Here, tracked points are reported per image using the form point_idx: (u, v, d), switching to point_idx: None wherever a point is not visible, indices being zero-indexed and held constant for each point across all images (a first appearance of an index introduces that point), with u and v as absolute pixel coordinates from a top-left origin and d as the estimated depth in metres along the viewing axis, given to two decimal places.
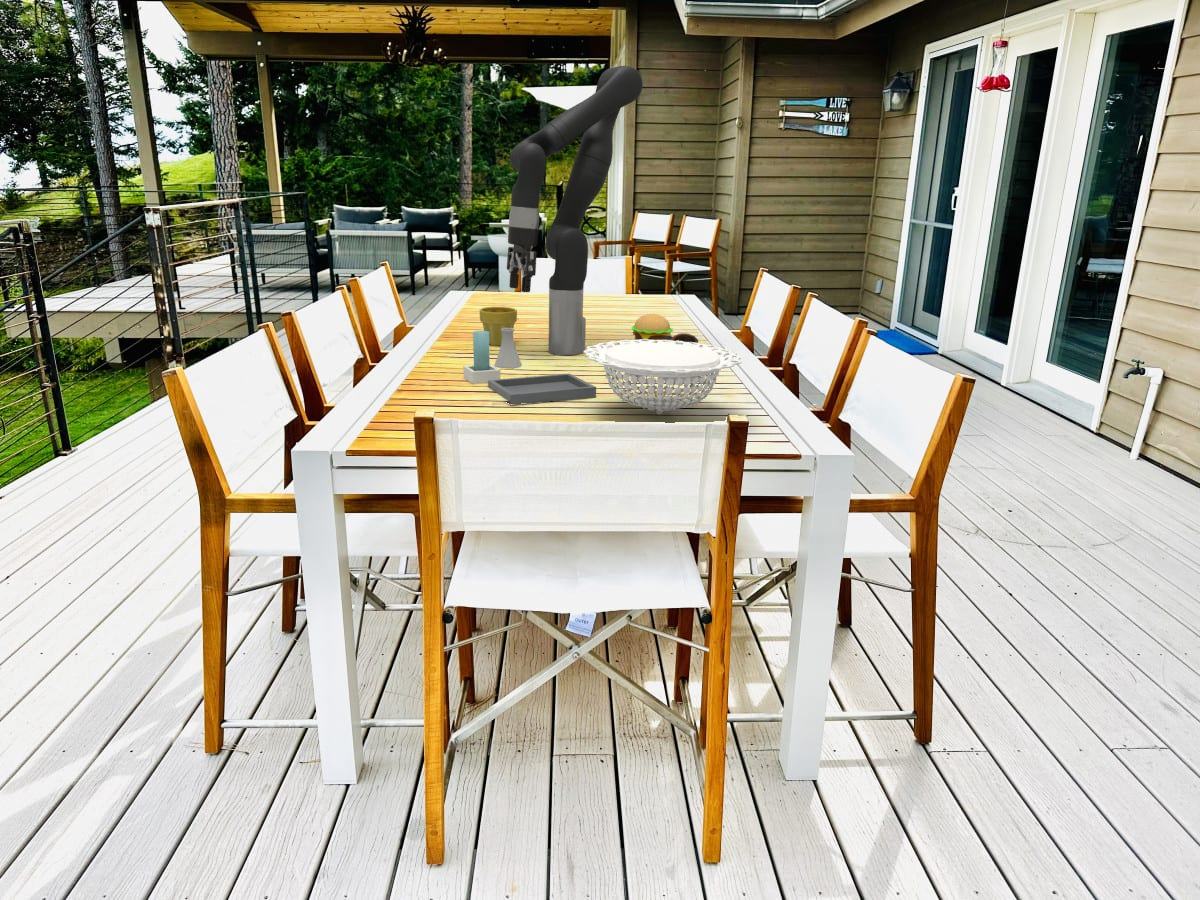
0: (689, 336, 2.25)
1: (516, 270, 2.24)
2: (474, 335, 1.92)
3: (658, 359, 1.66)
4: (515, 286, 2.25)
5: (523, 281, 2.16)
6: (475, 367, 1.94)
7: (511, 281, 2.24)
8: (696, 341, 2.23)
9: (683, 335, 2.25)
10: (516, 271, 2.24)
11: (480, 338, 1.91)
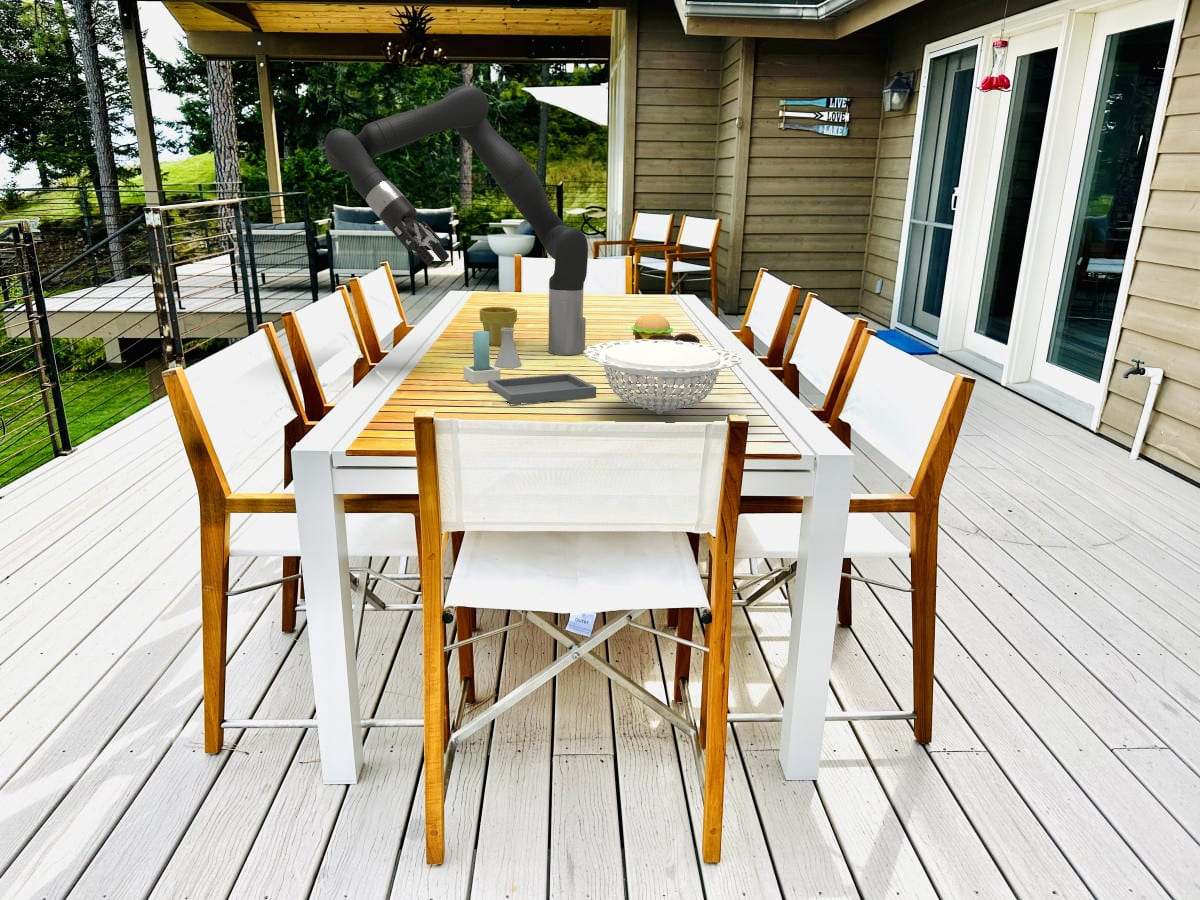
0: (690, 336, 2.25)
1: (434, 242, 1.98)
2: (474, 335, 1.92)
3: (658, 359, 1.66)
4: (445, 256, 1.98)
5: None
6: (475, 367, 1.94)
7: (438, 256, 1.99)
8: (697, 341, 2.23)
9: (684, 335, 2.25)
10: (434, 243, 1.98)
11: (480, 338, 1.91)
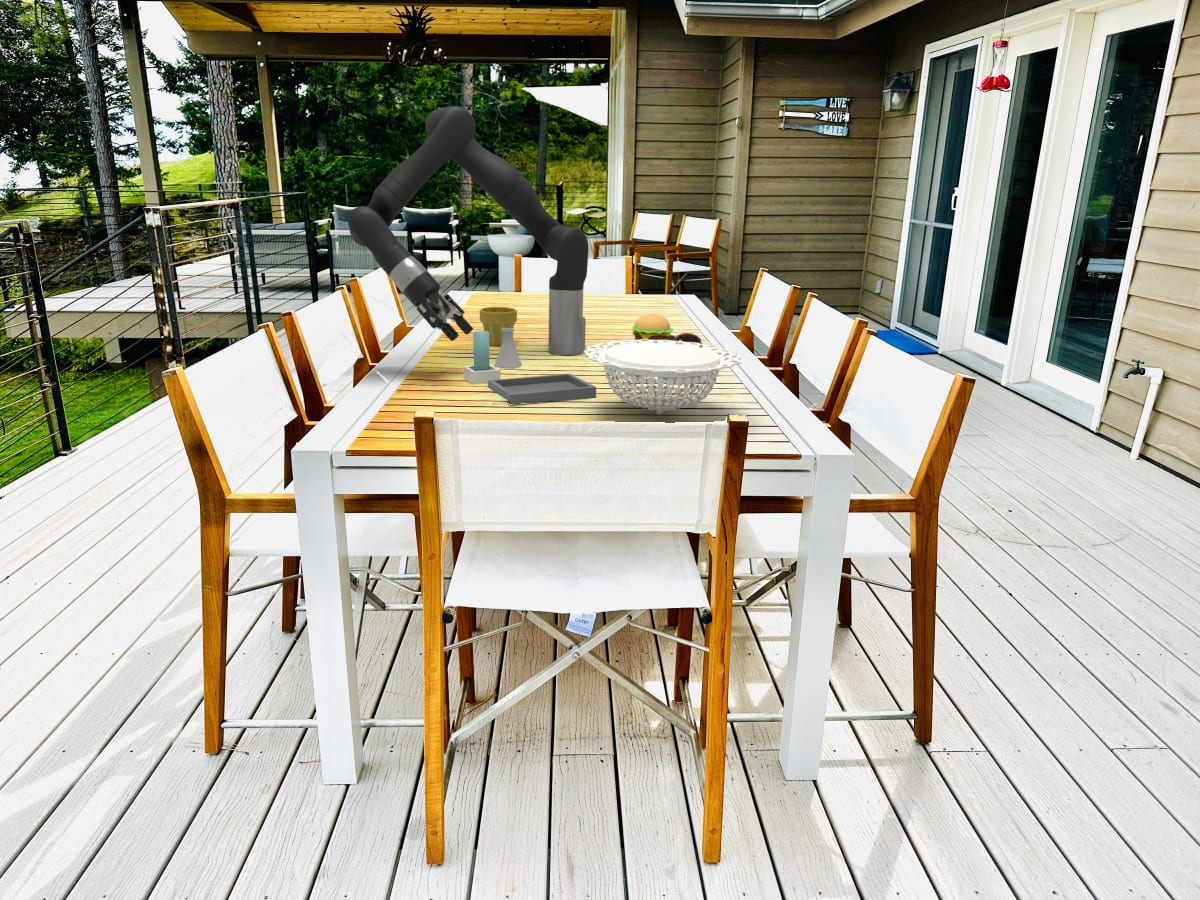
0: (692, 336, 2.25)
1: (457, 316, 1.98)
2: (474, 335, 1.92)
3: (658, 359, 1.66)
4: (469, 329, 1.98)
5: (444, 332, 1.90)
6: (475, 367, 1.94)
7: (462, 329, 1.98)
8: (699, 341, 2.23)
9: (686, 335, 2.26)
10: (458, 316, 1.98)
11: (480, 338, 1.91)
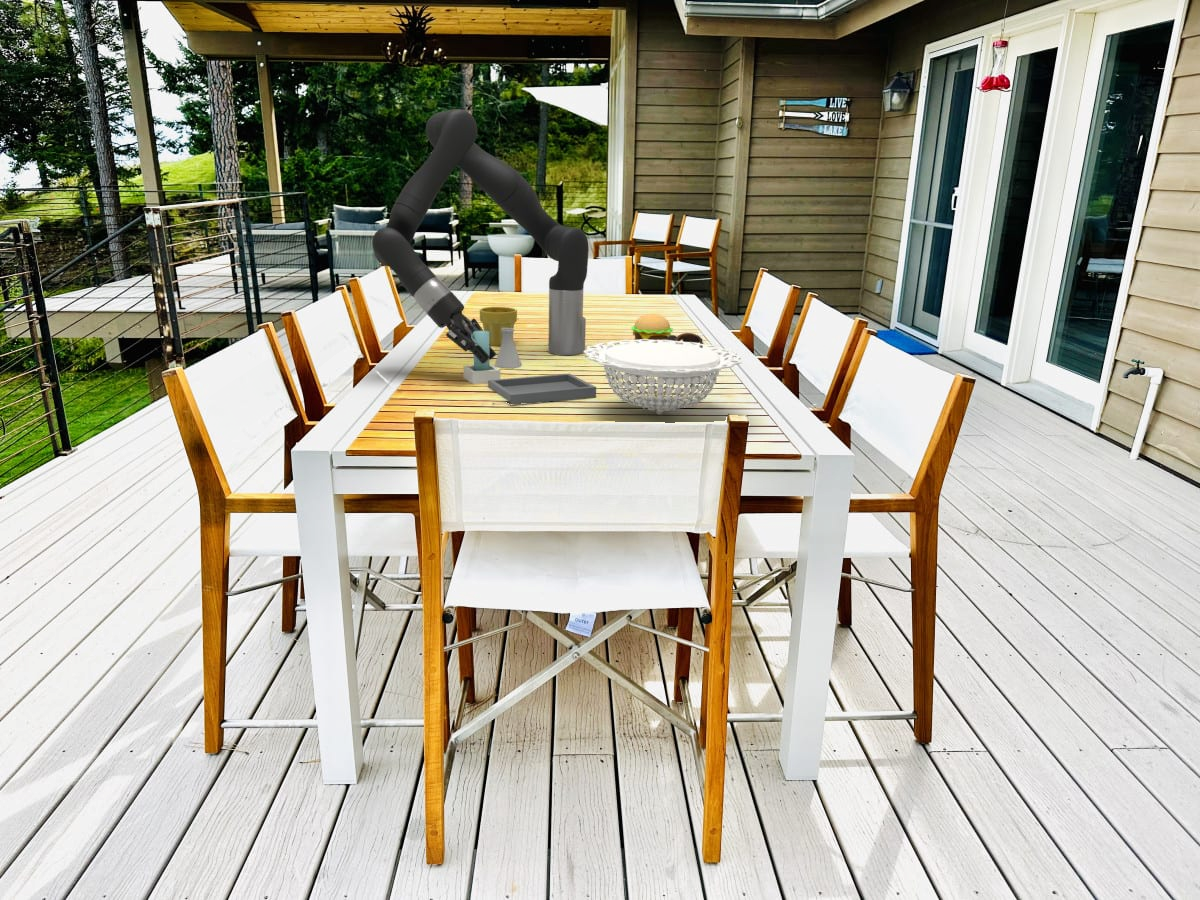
0: (693, 336, 2.26)
1: None
2: (474, 335, 1.92)
3: (658, 359, 1.66)
4: (492, 355, 1.96)
5: None
6: (475, 367, 1.94)
7: None
8: (700, 341, 2.24)
9: (687, 335, 2.26)
10: None
11: (480, 338, 1.91)
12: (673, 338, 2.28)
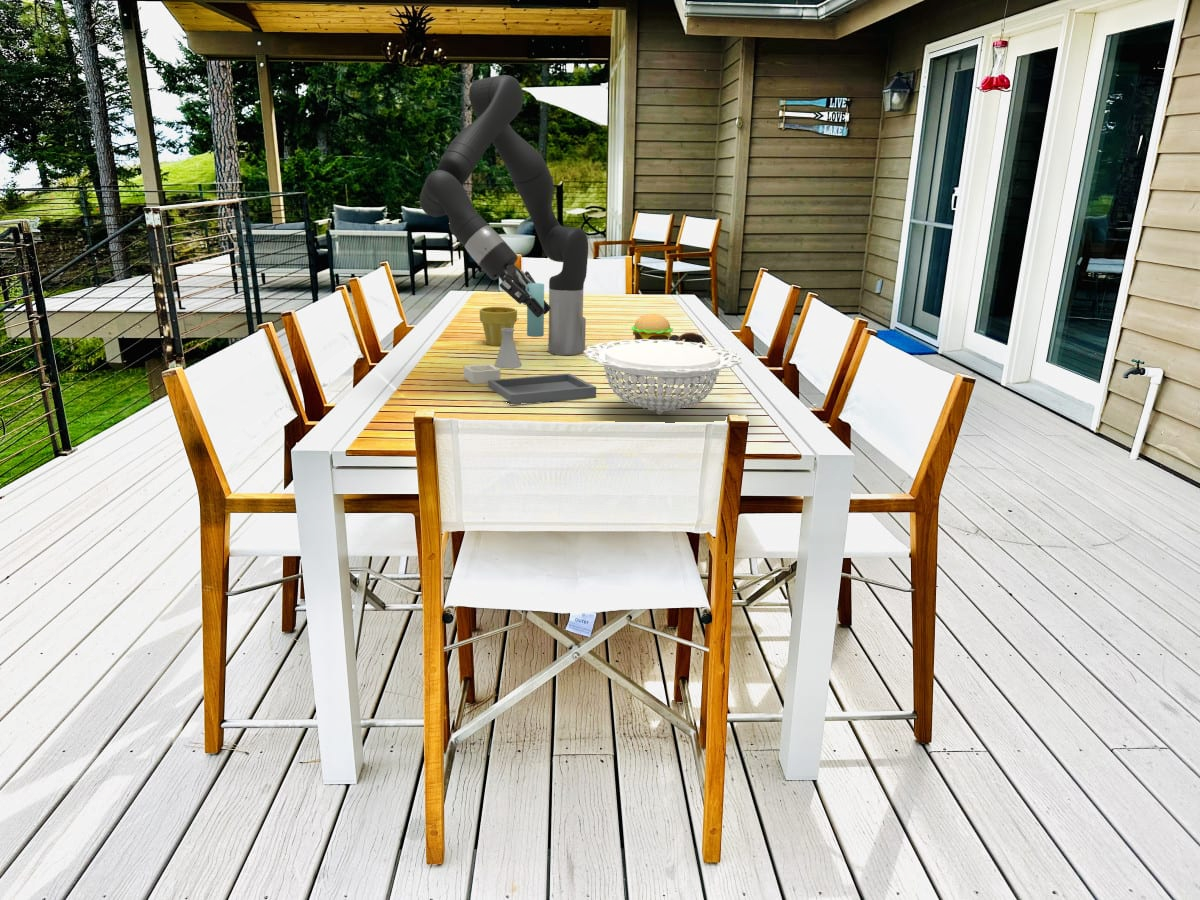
0: (695, 335, 2.26)
1: None
2: (528, 287, 1.81)
3: (658, 359, 1.66)
4: (546, 309, 1.85)
5: (529, 308, 1.81)
6: (528, 321, 1.83)
7: None
8: (703, 340, 2.24)
9: (690, 334, 2.26)
10: None
11: (534, 290, 1.80)
12: (675, 338, 2.28)
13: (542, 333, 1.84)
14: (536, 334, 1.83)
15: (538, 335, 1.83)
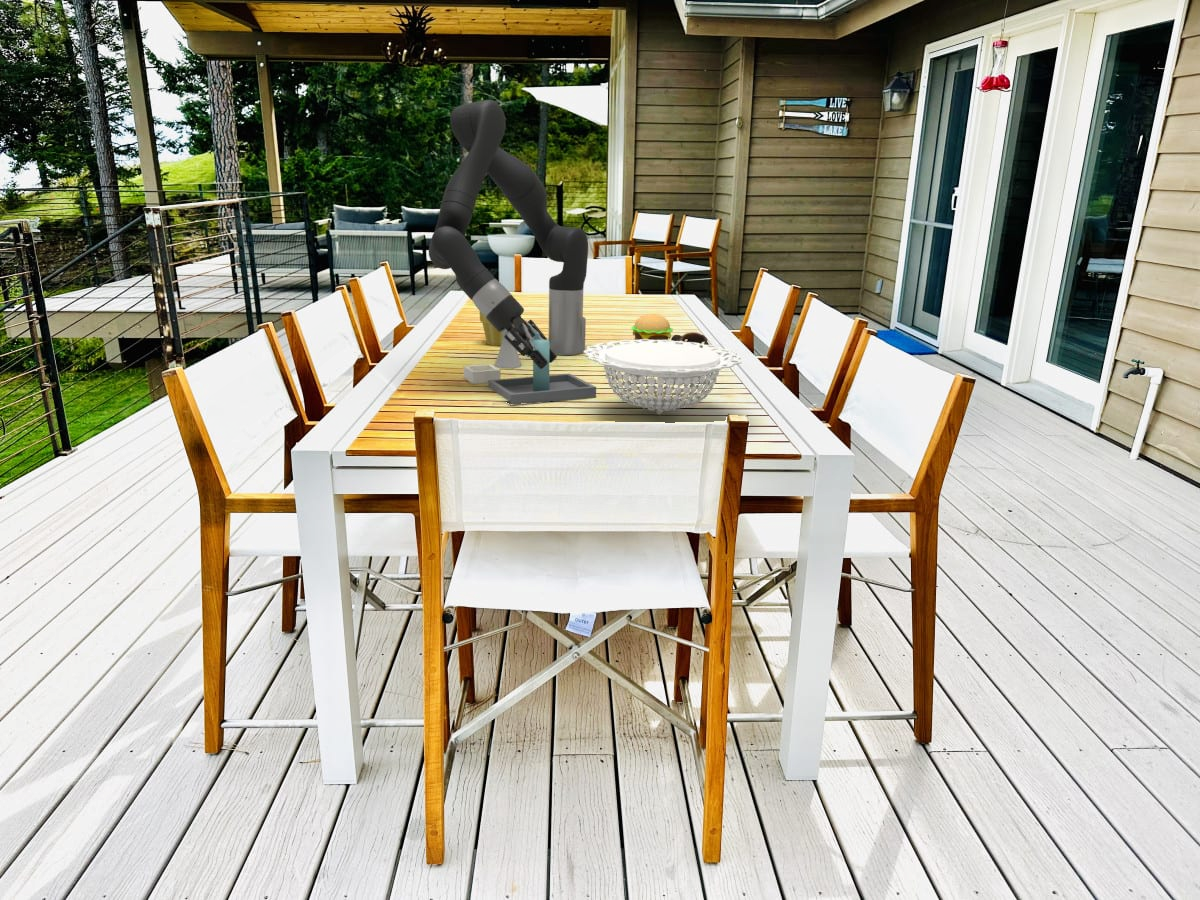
0: (698, 335, 2.27)
1: None
2: (534, 344, 1.84)
3: (658, 359, 1.66)
4: (553, 357, 1.89)
5: (533, 359, 1.83)
6: (534, 377, 1.86)
7: None
8: (705, 340, 2.25)
9: (692, 334, 2.27)
10: None
11: (540, 347, 1.83)
12: (678, 338, 2.29)
13: (548, 388, 1.87)
14: (542, 389, 1.87)
15: None
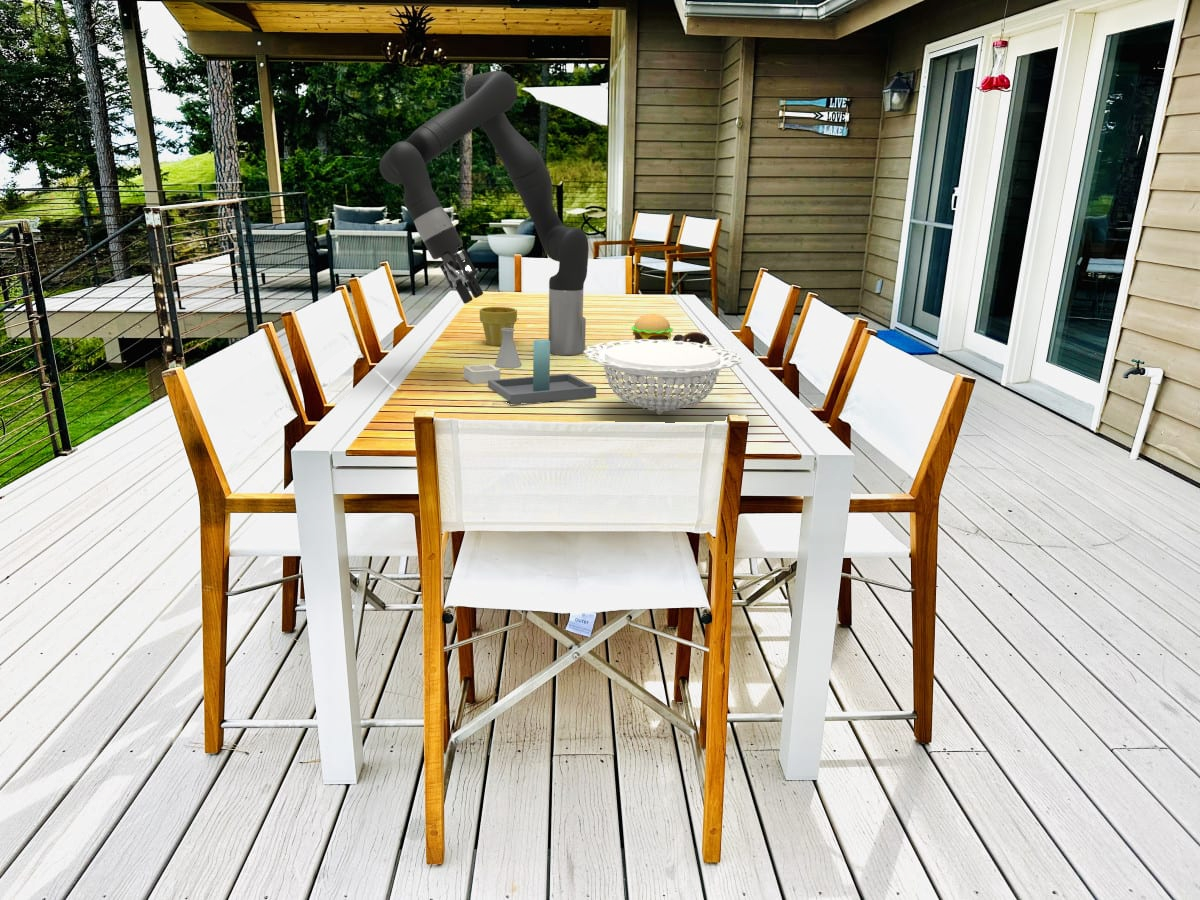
0: (700, 335, 2.27)
1: (460, 282, 1.94)
2: (535, 344, 1.84)
3: (658, 359, 1.66)
4: (469, 299, 1.95)
5: (470, 286, 1.86)
6: (534, 377, 1.86)
7: (462, 296, 1.94)
8: (707, 340, 2.25)
9: (694, 334, 2.27)
10: (461, 283, 1.94)
11: (541, 347, 1.84)
12: (680, 337, 2.29)
13: (548, 388, 1.87)
14: (542, 389, 1.87)
15: None
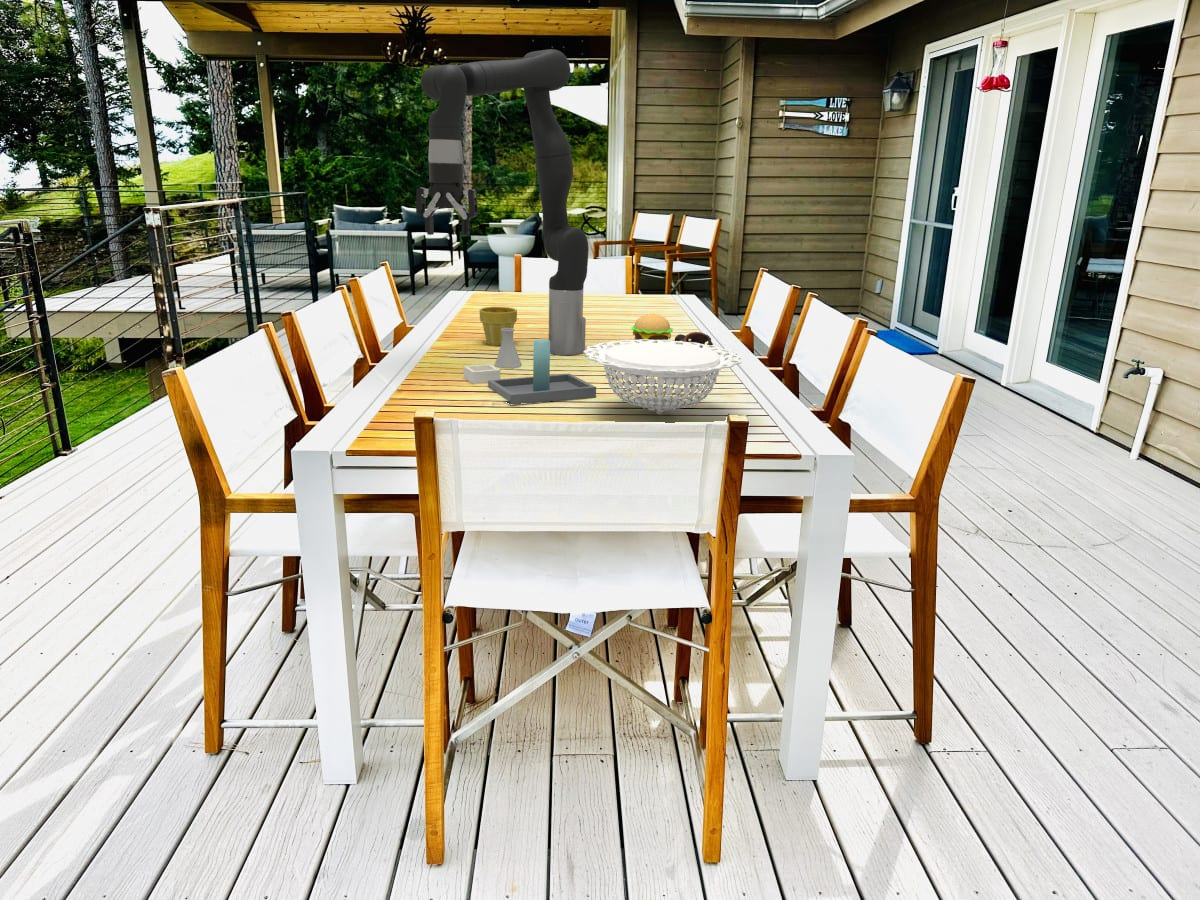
0: (702, 335, 2.27)
1: (431, 214, 1.97)
2: (535, 344, 1.84)
3: (658, 359, 1.66)
4: (432, 232, 1.98)
5: (464, 224, 1.94)
6: (534, 377, 1.86)
7: (430, 227, 1.97)
8: (709, 340, 2.25)
9: (696, 334, 2.28)
10: (431, 215, 1.97)
11: (541, 347, 1.83)
12: (681, 337, 2.30)
13: (548, 388, 1.87)
14: (542, 390, 1.87)
15: None
